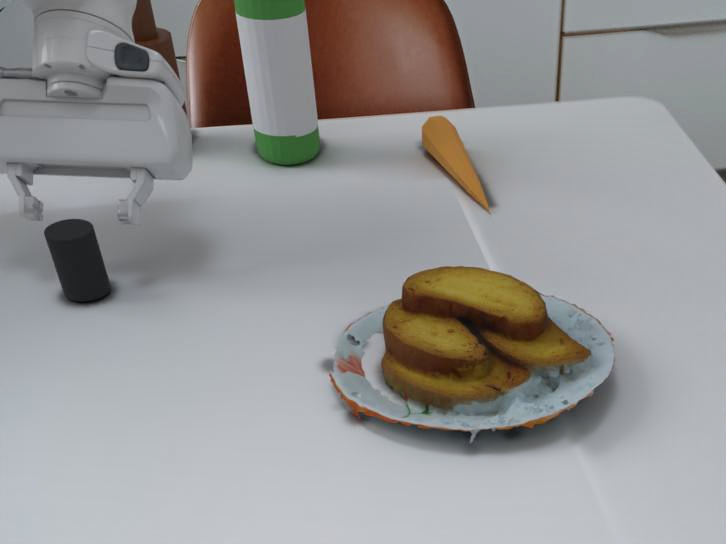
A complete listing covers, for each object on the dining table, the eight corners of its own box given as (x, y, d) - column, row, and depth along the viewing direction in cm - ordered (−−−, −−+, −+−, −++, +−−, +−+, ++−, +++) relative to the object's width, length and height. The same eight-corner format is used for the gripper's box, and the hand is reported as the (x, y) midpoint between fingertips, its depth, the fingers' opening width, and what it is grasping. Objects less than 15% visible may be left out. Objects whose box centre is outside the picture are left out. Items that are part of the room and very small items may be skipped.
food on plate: (337, 472, 77) (328, 402, 72) (324, 314, 93) (316, 248, 88) (646, 445, 79) (658, 375, 74) (581, 295, 96) (586, 231, 91)
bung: (66, 315, 92) (41, 242, 87) (69, 292, 95) (45, 220, 90) (113, 310, 93) (92, 237, 88) (115, 288, 96) (94, 216, 90)
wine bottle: (256, 144, 120) (209, -165, 98) (319, 140, 121) (285, -167, 99) (258, 169, 115) (208, -151, 93) (323, 165, 116) (289, -153, 94)
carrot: (424, 153, 121) (410, 121, 117) (456, 135, 120) (443, 102, 116) (479, 238, 110) (466, 206, 106) (514, 219, 109) (502, 185, 105)
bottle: (136, 158, 117) (99, 6, 105) (137, 136, 122) (101, -12, 110) (193, 153, 118) (162, 2, 106) (192, 132, 123) (162, -15, 111)
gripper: (-44, 47, 87) (-48, 203, 88) (178, 55, 86) (172, 211, 87) (-6, 84, 93) (-10, 229, 94) (201, 91, 93) (195, 237, 93)
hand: (79, 220), depth 91 cm, fingers open, 8 cm apart
